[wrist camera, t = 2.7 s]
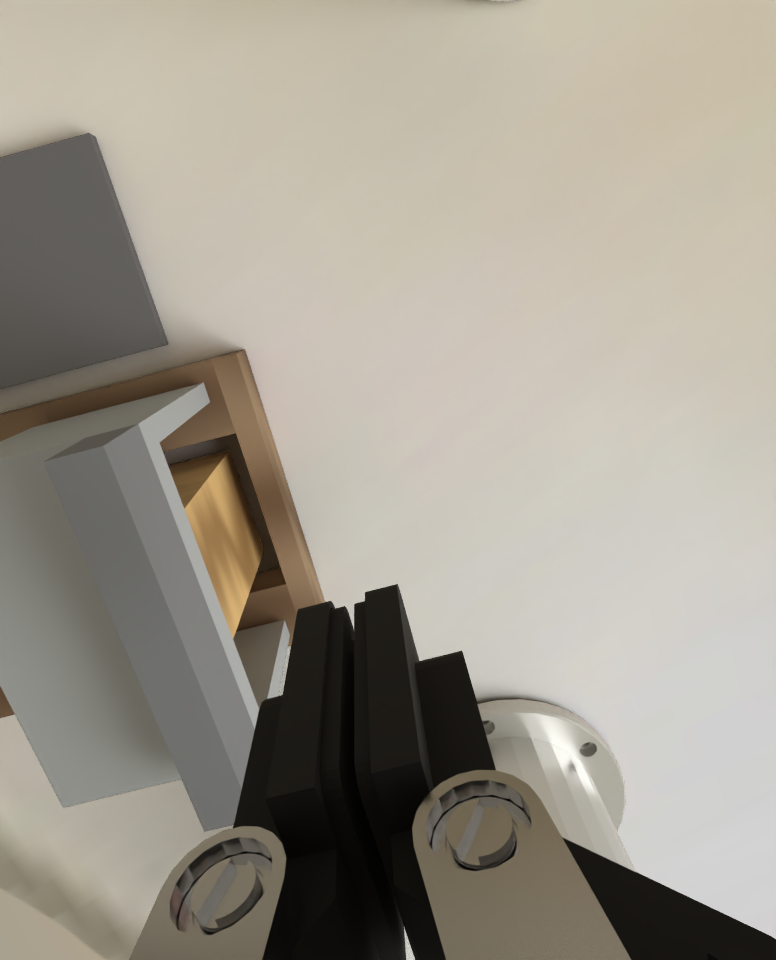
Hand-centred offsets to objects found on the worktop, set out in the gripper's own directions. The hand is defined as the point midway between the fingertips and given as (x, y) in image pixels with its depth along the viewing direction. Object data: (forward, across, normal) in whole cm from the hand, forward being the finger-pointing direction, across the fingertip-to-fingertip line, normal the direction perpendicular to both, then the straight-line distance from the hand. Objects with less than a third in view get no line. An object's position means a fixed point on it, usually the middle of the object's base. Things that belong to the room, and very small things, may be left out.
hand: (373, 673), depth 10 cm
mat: (+18, +11, -9) cm, 23 cm away
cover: (+16, +9, +2) cm, 19 cm away
